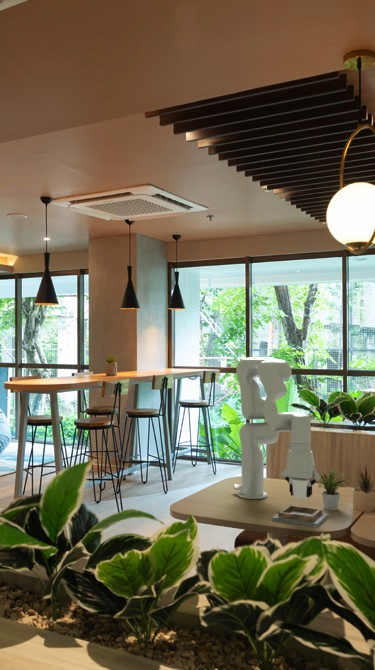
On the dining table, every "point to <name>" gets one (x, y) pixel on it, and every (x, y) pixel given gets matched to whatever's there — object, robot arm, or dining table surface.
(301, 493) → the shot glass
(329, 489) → the house plant
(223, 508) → the dining table surface
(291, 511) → the tray
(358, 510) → the dining table surface
